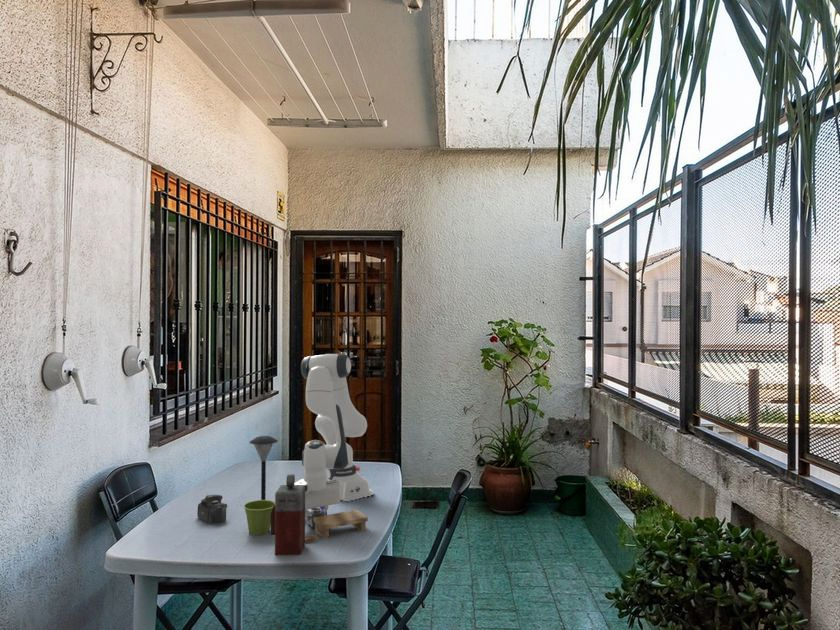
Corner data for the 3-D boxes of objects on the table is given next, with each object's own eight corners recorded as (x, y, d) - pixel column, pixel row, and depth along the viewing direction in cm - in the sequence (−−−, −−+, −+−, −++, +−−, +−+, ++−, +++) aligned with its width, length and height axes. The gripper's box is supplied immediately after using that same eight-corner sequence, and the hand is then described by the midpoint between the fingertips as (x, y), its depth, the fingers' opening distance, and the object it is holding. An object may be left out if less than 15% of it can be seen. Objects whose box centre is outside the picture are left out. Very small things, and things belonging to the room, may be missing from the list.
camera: (233, 518, 238) (233, 493, 238) (217, 526, 228) (217, 500, 229) (207, 514, 242) (207, 490, 242) (190, 522, 233) (190, 497, 233)
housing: (317, 518, 232) (317, 503, 232) (324, 524, 225) (324, 509, 225) (305, 520, 230) (305, 505, 230) (312, 527, 223) (312, 511, 223)
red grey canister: (272, 550, 205) (273, 471, 205) (305, 550, 205) (305, 471, 205) (267, 561, 196) (268, 478, 196) (301, 560, 196) (301, 478, 197)
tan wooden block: (314, 542, 213) (314, 534, 213) (317, 544, 211) (318, 536, 211) (301, 545, 210) (301, 537, 210) (305, 548, 208) (305, 539, 208)
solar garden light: (270, 512, 245) (270, 441, 245) (243, 510, 247) (243, 439, 247) (282, 503, 257) (283, 435, 257) (256, 501, 259) (257, 434, 259)
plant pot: (258, 542, 212) (258, 511, 212) (236, 536, 218) (236, 506, 218) (282, 532, 222) (282, 503, 222) (260, 526, 228) (260, 497, 228)
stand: (356, 524, 231) (356, 509, 231) (367, 533, 222) (367, 517, 222) (313, 533, 222) (313, 517, 222) (322, 542, 213) (322, 525, 213)
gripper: (336, 477, 235) (336, 511, 236) (287, 485, 225) (287, 520, 225) (342, 481, 230) (343, 515, 230) (292, 489, 219) (292, 526, 220)
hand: (315, 518), depth 227 cm, fingers closed on housing, 5 cm apart
